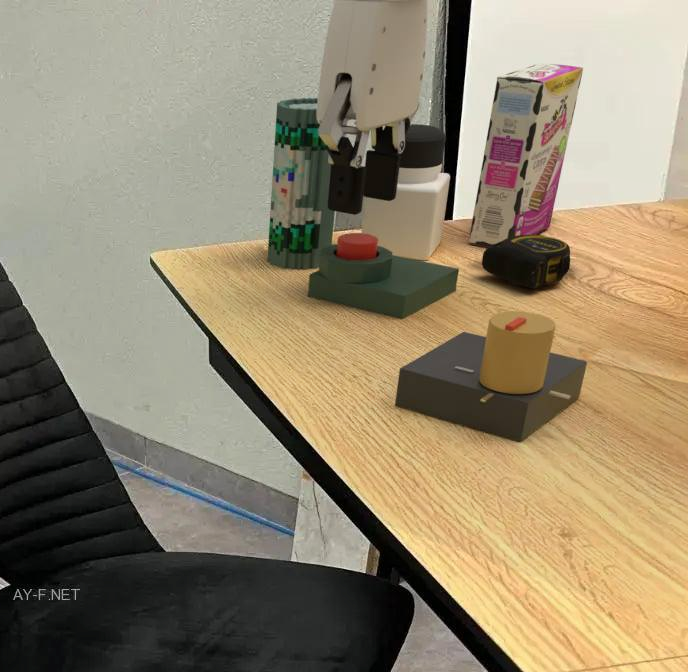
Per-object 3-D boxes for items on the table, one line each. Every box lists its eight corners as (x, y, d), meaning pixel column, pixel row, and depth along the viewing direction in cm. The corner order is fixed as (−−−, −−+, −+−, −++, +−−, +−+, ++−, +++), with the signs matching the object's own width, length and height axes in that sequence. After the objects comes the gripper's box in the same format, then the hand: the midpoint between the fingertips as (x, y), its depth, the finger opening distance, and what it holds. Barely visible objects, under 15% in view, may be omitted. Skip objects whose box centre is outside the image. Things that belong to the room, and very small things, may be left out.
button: (383, 256, 106) (385, 237, 105) (362, 265, 103) (364, 246, 102) (349, 249, 108) (351, 230, 107) (328, 258, 106) (330, 239, 105)
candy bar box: (512, 253, 117) (544, 80, 108) (466, 245, 120) (493, 76, 111) (553, 228, 124) (586, 64, 115) (508, 221, 127) (537, 60, 118)
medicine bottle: (441, 243, 121) (458, 122, 114) (428, 261, 116) (445, 136, 109) (374, 236, 124) (387, 118, 117) (358, 254, 118) (371, 132, 112)
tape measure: (475, 278, 111) (481, 239, 109) (527, 267, 113) (534, 229, 111) (527, 298, 106) (535, 258, 104) (580, 285, 108) (589, 246, 106)
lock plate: (602, 404, 86) (612, 364, 84) (533, 458, 78) (542, 415, 77) (457, 367, 92) (463, 329, 91) (382, 413, 85) (387, 373, 83)
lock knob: (495, 366, 84) (507, 302, 82) (553, 380, 82) (567, 315, 79) (467, 384, 82) (478, 319, 79) (526, 399, 79) (540, 333, 77)
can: (256, 260, 117) (265, 103, 109) (297, 248, 120) (309, 95, 112) (299, 273, 113) (312, 112, 105) (341, 261, 116) (356, 103, 108)
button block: (455, 291, 108) (462, 249, 106) (400, 320, 102) (406, 276, 99) (361, 271, 114) (365, 230, 111) (303, 297, 107) (307, 254, 105)
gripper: (397, -34, 100) (374, 180, 110) (287, -17, 90) (272, 218, 100) (477, -30, 96) (445, 192, 106) (371, -12, 86) (346, 233, 96)
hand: (361, 202), depth 103 cm, fingers open, 5 cm apart
